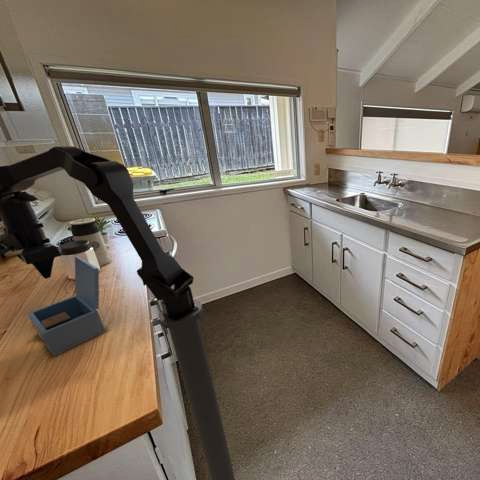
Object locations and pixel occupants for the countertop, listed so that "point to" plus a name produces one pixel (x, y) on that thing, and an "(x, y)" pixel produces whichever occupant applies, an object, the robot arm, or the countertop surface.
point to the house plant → (104, 234)
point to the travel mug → (90, 237)
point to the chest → (67, 324)
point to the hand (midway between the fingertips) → (47, 277)
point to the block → (55, 321)
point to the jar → (77, 255)
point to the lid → (87, 282)
